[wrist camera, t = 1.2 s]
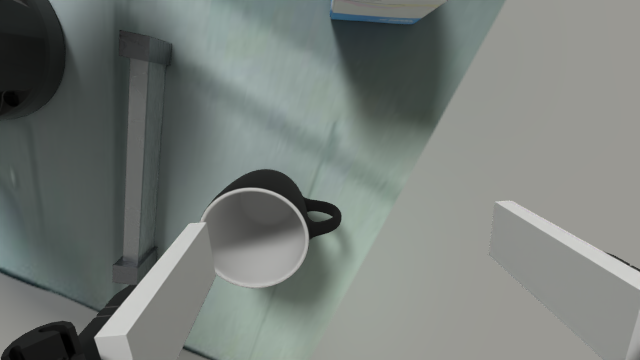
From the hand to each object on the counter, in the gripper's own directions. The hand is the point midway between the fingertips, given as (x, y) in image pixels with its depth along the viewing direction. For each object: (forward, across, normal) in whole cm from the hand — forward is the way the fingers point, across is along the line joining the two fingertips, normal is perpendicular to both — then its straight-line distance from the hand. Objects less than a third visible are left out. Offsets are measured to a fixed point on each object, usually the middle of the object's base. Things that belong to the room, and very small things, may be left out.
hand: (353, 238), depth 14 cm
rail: (+20, -18, 0) cm, 27 cm away
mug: (+20, -5, -5) cm, 21 cm away
